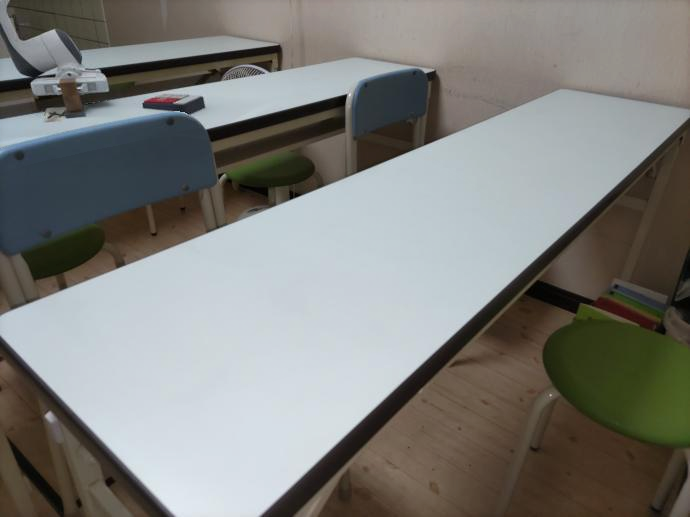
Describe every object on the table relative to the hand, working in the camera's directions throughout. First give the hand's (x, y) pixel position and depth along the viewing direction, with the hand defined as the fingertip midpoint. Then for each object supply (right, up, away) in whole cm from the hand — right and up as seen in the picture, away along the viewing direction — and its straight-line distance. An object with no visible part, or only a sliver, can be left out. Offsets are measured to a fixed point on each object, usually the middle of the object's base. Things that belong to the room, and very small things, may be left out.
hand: (70, 91), depth 144 cm
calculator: (+25, -2, +14) cm, 29 cm away
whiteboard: (+1, -6, +5) cm, 8 cm away
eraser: (0, -5, +4) cm, 6 cm away
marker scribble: (-5, -6, +2) cm, 8 cm away
